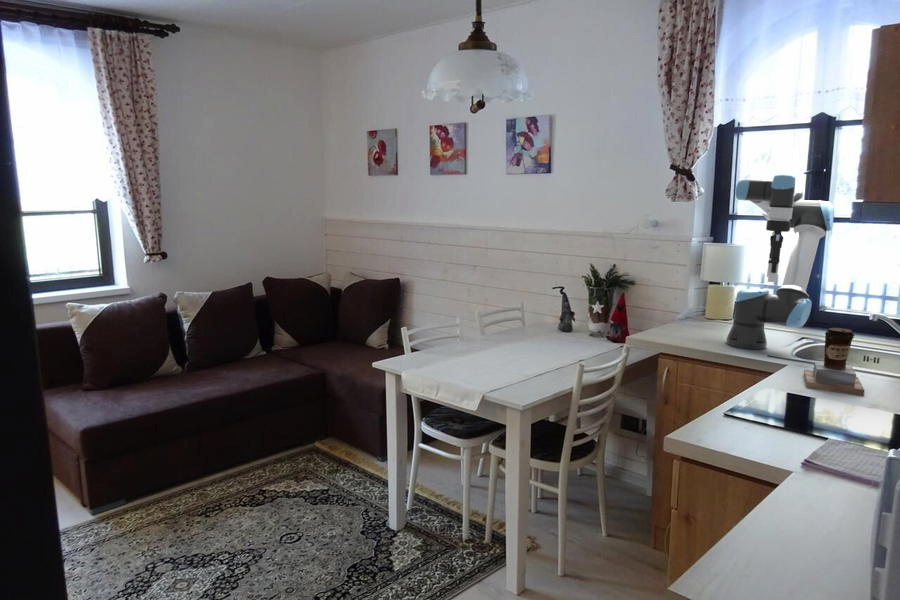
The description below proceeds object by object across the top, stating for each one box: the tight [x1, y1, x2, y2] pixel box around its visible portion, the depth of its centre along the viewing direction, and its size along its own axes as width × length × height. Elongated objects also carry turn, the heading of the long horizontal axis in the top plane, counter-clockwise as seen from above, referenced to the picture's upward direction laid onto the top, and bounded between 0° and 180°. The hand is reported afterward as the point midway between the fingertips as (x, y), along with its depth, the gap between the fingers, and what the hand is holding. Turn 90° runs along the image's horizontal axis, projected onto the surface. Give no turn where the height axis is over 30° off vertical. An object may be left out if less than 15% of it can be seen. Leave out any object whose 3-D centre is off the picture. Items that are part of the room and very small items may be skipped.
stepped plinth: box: [803, 360, 865, 397], centre depth 215 cm, size 16×16×6 cm
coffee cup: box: [823, 327, 855, 370], centre depth 213 cm, size 9×8×13 cm
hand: (771, 279), depth 231 cm, fingers open, 13 cm apart
